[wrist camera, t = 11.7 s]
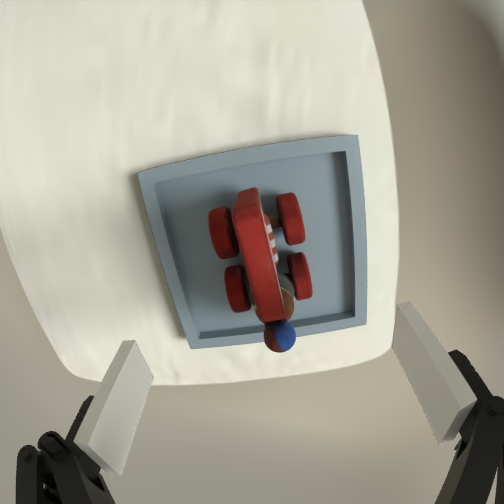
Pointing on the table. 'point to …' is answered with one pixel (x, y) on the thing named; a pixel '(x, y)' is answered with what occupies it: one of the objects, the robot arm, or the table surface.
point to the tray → (315, 224)
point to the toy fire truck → (262, 262)
